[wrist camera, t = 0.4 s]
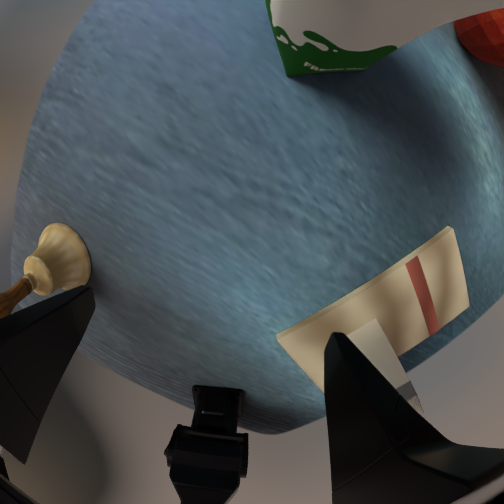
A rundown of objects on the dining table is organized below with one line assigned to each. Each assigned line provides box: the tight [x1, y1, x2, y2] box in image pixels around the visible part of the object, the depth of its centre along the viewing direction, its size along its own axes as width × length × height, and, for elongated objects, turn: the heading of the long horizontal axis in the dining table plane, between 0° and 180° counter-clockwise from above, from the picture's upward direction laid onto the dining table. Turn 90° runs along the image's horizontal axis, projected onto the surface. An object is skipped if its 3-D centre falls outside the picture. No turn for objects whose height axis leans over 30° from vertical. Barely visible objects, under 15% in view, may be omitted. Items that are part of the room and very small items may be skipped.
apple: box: [454, 8, 504, 68], centre depth 9 cm, size 11×11×12 cm
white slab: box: [346, 318, 423, 414], centre depth 23 cm, size 6×4×11 cm
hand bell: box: [0, 223, 91, 318], centre depth 19 cm, size 8×8×16 cm
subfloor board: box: [276, 226, 470, 393], centre depth 27 cm, size 22×12×1 cm, turn 125°
